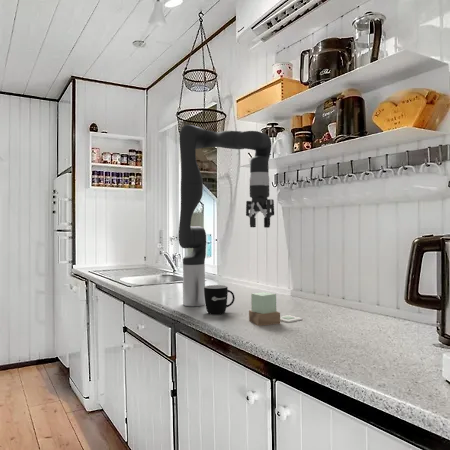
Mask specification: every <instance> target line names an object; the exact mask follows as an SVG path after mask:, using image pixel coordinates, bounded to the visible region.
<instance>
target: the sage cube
mask: <svg viewBox="0 0 450 450" xmlns="http://www.w3.org/2000/svg"><path fill="white" fill-rule="evenodd" d="M250 299H251V300H252V311H253V312H257V313H261V314H265V313H272V312H276V311H277V294H276V293H273V292H267V291H263V292H257V293H256V292H254V293H251V298H250Z"/></svg>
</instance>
